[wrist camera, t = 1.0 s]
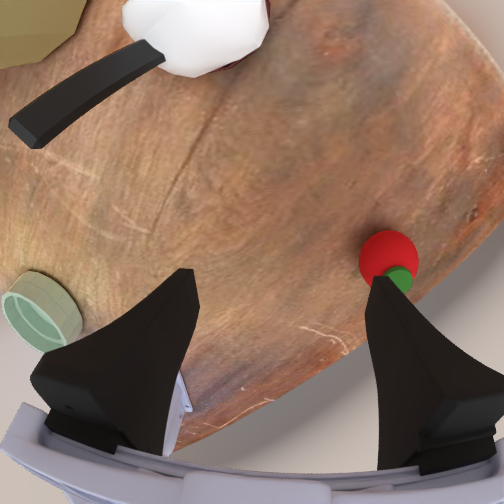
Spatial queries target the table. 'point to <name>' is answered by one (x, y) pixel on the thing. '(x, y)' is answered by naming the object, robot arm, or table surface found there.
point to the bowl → (41, 312)
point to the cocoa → (150, 57)
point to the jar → (35, 28)
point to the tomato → (389, 259)
